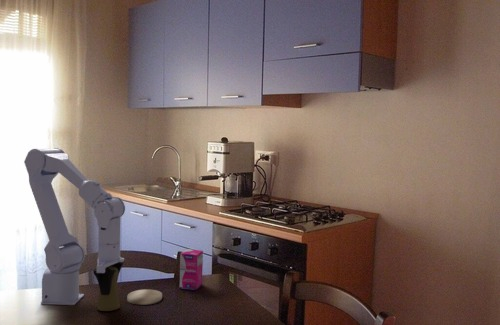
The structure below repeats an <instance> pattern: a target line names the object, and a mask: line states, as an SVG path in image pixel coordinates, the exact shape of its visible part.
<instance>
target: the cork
mask: <svg viewBox="0 0 500 325" xmlns="http://www.w3.org/2000/svg"><path fill="white" fill-rule="evenodd" d="M109 269H110V270H116V272H115V274H114V276H113V279H112V285H111V291H110V294H109V295H101V292H100V291H99V292H98V293H99V294H98V299H97V301H98V302H97V310H99V311H102V312H110V311H116V310H118V309H120V308H121V306H120V296H119V288H118V280H117V278H118V279H119V276H120V272H119V271H118V269H117V268H116V267H109ZM118 275H119V276H118Z"/></svg>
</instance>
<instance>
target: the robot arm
mask: <svg viewBox="0 0 500 325" xmlns="http://www.w3.org/2000/svg"><path fill="white" fill-rule="evenodd" d="M23 161H24V162H23V164H24V166H25V169H26V172H27V174H28V183H29V186H30V189H31V192H32V195H33V198H34V201H35V203H36V205H37V210H38V211H39V215H40V218H41V220H42V224H43V227H44V230H45V232H46V235H47V238H48V242H47V244H46V245H45V247H44V249H43V251H44V254H45V265H46V267H47V269H46V270H45V271H44V272H43V274H42V277H41V278H42V279H41V301H40V304H41V305H59V306H74V305H76V304H77V303H78V302H79V301H80V300H81V299H82V298H84V295H85V294H84V293H80V268H81V264H82V263H83V262H84V260H85V258H86V252H85V249H84V248H83V246H82V245H81V244H80V242H79V240H78V238H77V237H76V236H74V235H72V234H70V233H69V232H70V231H69V229H68V226H67V225H66V221H65V219H64V215H63V212H62V210H61V207H60V204H59V202H58V198H57V195H56V193H55V189H54V188H53V185H52V183H53V180H54V179H55V178H56V176H58V174H60V175H61V176H63V178H65V179H66V180H67V181H68V182H70V183H71V184H72V185H73V186H75V188H77V189H78V196H79V197H80V198H81V199H82V200H83V201H84V202H85V203H87V204H88V205H89V207H91V208H92V209H93V215H94V217H95V218H96V221H97V222H96V223H97V227H98V242H97V243H98V246H97V248H98V250H97V252H98V253H97V259H96V260H97V261H96V262H97V265H96V268H94V269H93V275H94V277H95V278H96V280H97V282H98V287H99V292H101V295H109V294H110V291H111V285H112V279H113V276H114V274H115V272H116V270H110V269H109V267H116V268H117V269H118V271H119V273H121V271H122V270H121V269H122V267H123V265H124V263H125V262H124V261H125V258H124V257H121V217H123V216H124V214H125V211H126V206H125V203H124V201H123V200H122V198H120V197H118V196H113V195H112V194H111V193H110V192H108V191H107V190H105V189H104V188H103V187H102V186H101V183H100V182H99V180H94V179H90V180H89V179H88V178H86V176H85V175H84V174H83V173H82V172H81V170H79V169H78V167H76V166H75V164H74V163H73V162H72V161H71V160H70V155H69V154H67V153H66V152H65V151H64V150H63V149H62V148H60V147H54V148H32V149H30V150H29V151H28V153H27V155H26V156H25V158H24V160H23ZM119 276H120V274H119V275H118V278H117V281H119Z"/></svg>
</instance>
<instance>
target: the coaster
mask: <svg viewBox="0 0 500 325" xmlns="http://www.w3.org/2000/svg"><path fill="white" fill-rule="evenodd" d="M126 297H127V298H126V299H127V300H126V301H127V302H128V303H130V304H133V305H140V306H141V305H142V306H145V305H146V306H147V305H152V304H156V303H159V302H160V301H162V299H163V292H161V291H159V290H156V289H149V288H148V289H147V288H146V289H145V288H144V289H138V290H134V291H131V292H128V294H127V296H126Z"/></svg>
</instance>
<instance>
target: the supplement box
mask: <svg viewBox="0 0 500 325" xmlns="http://www.w3.org/2000/svg"><path fill="white" fill-rule="evenodd" d="M179 258H180V259H179V260H180V261H179V289H181V290H190V291H191V290H192V291H197V290H198V289H199V288H201V286H202V285H203V269H204V268H203V261H204V251H203V250H199V249H190V248H189V249H188V248H186V249H184V250H183V251H182V252H181V253H180V255H179Z"/></svg>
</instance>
